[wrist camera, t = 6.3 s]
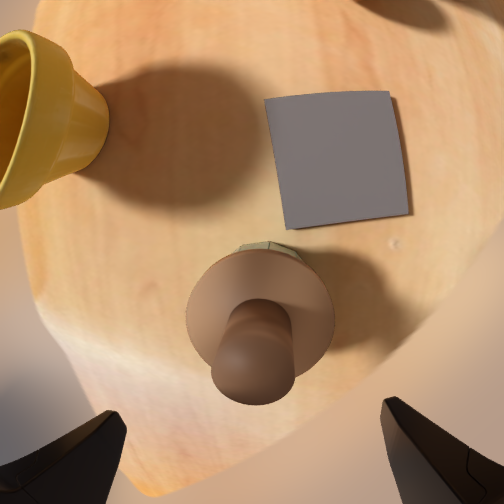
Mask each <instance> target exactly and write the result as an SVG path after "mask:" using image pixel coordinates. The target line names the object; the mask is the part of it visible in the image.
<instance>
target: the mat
mask: <svg viewBox="0 0 504 504" xmlns="http://www.w3.org/2000/svg"><path fill="white" fill-rule="evenodd" d="M264 101H265V107H266V112H267V117H268V123H269V128H270V134H271V139H272V145H273V151H274V157H275V163H276V169H277V175H278V181H279V187H280V194H281V200H282V207H283V213H284V220H285V227H286V230H289V229H296V228H303V227H310V226H318V225H325V224H333V223H340V222H348V221H355V220H363V219H371V218H379V217H387V216H395V215H403V214H409V213H408V200H407V190H406V181H405V173H404V165H403V158H402V152H401V146H400V140H399V134H398V129H397V124H396V119H395V114H394V110H393V106H392V101H391V97H390V93H389V91H345V92H327V93H315V94H304V95H294V96H286V97H278V98H271V99H264Z"/></svg>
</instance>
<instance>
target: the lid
mask: <svg viewBox="0 0 504 504" xmlns="http://www.w3.org/2000/svg"><path fill="white" fill-rule="evenodd" d="M186 326H187V330H188V334H189V337H190V340H191V342H192V344H193V346H194V348H195V349H196V351H197V352H198V354H199V355H200V356H201V357H202V359H203V360H204V361H205V362H206V363H207V364H208V365H210V366H211V367H212V368H211V375H212V379H213V382H214V384H215V385H216V387H217V388H218V390H219V391H220V392H221V393H222V394H224V395H225V396H226V397H228V398H229V399H231V400H233V401H236V402H238V403H242V404H246V405H265V404H269V403H273V402H275V401H277V400H279V399H281V398H282V397H284V396H285V395H286V394H287V393H288V392H289V391H290V390H291V388H292V386H293V384H294V381H295V377H297V376H299V375H301V374H303V373H305V372H306V371H308V370H309V369H310V368H312V367H313V366H314V365H315V364H316V363H317V362H318V361H319V360H320V359H321V358H322V356H323V355H324V353H325V352H326V351H327V349H328V347H329V345H330V343H331V340H332V337H333V333H334V327H335V314H334V308H333V304H332V301H331V298H330V296H329V294H328V291H327V289H326V287H325V285H324V283H323V282H322V280H321V279H320V277H319V276H318V275H317V274H316V273H315V271H314V270H313V269H312V268H310V267H309V266H308V265H307V264H306V263H304V262H303V261H301V260H299V259H298V258H296V257H294V256H292V255H290V254H287V253H284V252H281V251H276V250H271V249H248V250H243V251H239V252H236V253H233V254H230V255H228V256H226V257H224V258H222V259H220V260H219V261H218V262H216V263H215V264H213V265H212V266H211V267H210V268H209V269H208V270H207V271H206V272H205V273H204V275H203V276H202V277H201V278H200V280H199V281H198V282H197V284H196V285H195V287H194V289H193V290H192V292H191V295H190V297H189V300H188V304H187V308H186Z"/></svg>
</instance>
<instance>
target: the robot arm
mask: <svg viewBox="0 0 504 504" xmlns="http://www.w3.org/2000/svg"><path fill="white" fill-rule="evenodd" d="M380 420H381V426H382V430H383V435H384V440H385V444H386V450H387V455H388V459H389V462H390V466H391V468H392V472H393V475H394V477H395V481H396V484H397V487H398V490H399V493H400V496H401V499H402V503H403V504H504V466H502V465H500V464H498V463H496V462H494V461H492V460H490V459H488V458H486V457H485V456H483V455H481V454H480V453H478V452H477V451H475V450H474V449H472V448H469V446H467V445H466V444H464V443H463V442H461V441H459V440H458V439H457V438H455V437H454V436H452V435H451V434H449V433H448V432H447V431H445V430H444V429H442V428H441V427H439V426H438V425H436V424H435V423H433V422H432V421H430V420H429V419H428V418H426V417H425V416H423V415H422V414H421V413H419V412H417V411H416V410H415V409H413V408H412V407H411V406H409V405H408V404H406V403H405V402H403V401H402V400H401V399H399V398H398V397H396V396H394V397H390V398H386V399H384V400H383V403H382V410H381V415H380ZM126 433H127V427H126V425H125V423H124V422H123V420H122V418H121V416H120V415H119V413H118V412H116V411H112V410H106V411H105V412H103V413H101V414H100V415H98V416H96V417H95V418H93V419H91V420H90V421H88V422H86V423H85V424H83V425H81V426H79V427H78V428H76V429H74V430H72V431H71V432H69V433H68V434H65V435H64V436H62V437H60V438H58V439H57V440H55V441H53V442H51V443H49V444H47V445H46V446H44V447H42V448H40V449H39V450H37V451H34V452H33V453H31V454H29V455H27V456H24V457H22V458H20V459H18V460H15V461H13V462H10V463H8V464H5V465H2V466H0V504H106V501H107V498H108V495H109V492H110V489H111V486H112V483H113V480H114V477H115V474H116V471H117V468H118V465H119V462H120V458H121V454H122V450H123V445H124V441H125V437H126Z"/></svg>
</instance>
